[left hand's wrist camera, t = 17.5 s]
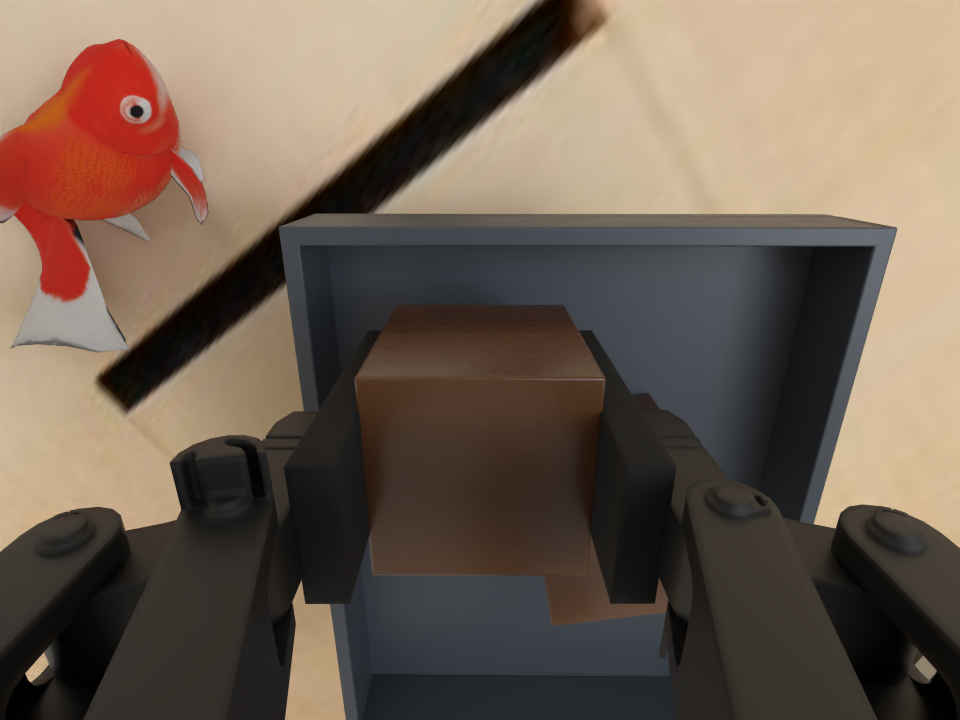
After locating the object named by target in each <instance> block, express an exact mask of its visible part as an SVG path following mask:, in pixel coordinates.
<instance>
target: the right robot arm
mask: <svg viewBox="0 0 960 720" xmlns="http://www.w3.org/2000/svg"><path fill="white" fill-rule="evenodd" d="M912 663H913V664H914V665H915V666H916V667H917V669H918V670H919V671H920V672H921V673H922V674H923V675H924V676H925V677H926V678H927V679H929V680H930V681H931V680H932V679H933V678H934V676H935V673H936V671H937V670H936V669H935V668H934V667H933V666H932V665H931V664H930V663H929V662H928V660H927V659H926V658H925V657H924V656H923V655H922V654H921V653H920V651H919V650H917V652H916V654H915V657H914V659H913V662H912Z"/></svg>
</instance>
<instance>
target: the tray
mask: <svg viewBox="0 0 960 720" xmlns="http://www.w3.org/2000/svg"><path fill="white" fill-rule="evenodd" d="M279 232H280V240H281V246H282V254H283V261H284V268H285V276H286V283H287V290H288V298H289V305H290V312H291V320H292V327H293V334H294V342H295V349H296V357H297V364H298V371H299V379H300V386H301V393H302V401H303V408H304V412H318V411H319V409H320V408H321V406H322V405H323V403H324V401H325V400H326V398H327V396H328V395H329V393H330V392H331V390H332V388H333V387H334V385H335V384H336V382H337V380H338V379H339V377H340V375H341V374H342V372H343V371H344V369H345V367H346V366H347V364H348V363H349V361H350V359H351V358H352V356H353V355H354V353H355V351H356V350H357V348H358V346H359V345H360V343H361V342H362V340H363V338H364V337H365V335H366V334H367V332H368V330H382V329H383V327H384V326H385V324H386V322H387V320H388V319H389V317H390V315H391V313H392V312H393V310H394V308H395V306H396V305H564V306H565V307H566V309H567V311H568V312H569V314H570V316H571V318H572V320H573V321H574V323H575V325H576V327H577V328H578V330H592V331H593V333H594V334H595V336H596V338H597V339H598V341H599V342H600V344H601V346H602V347H603V349H604V351H605V352H606V354H607V355H608V357H609V359H610V360H611V362H612V363H613V365H614V367H615V368H616V370H617V372H618V373H619V375H620V376H621V378H622V380H623V381H624V383H625V384H626V386H627V388H628V389H629V391H630V393H631V394H632V396H634V395H641V394H647V393H649V394H650V395H651V396H652V398H653V399H654V401H655V402H656V404H657V405H658V406H659V408H660V409H661V410H668V411H670V412H671V413H673V414H674V415H676V416H677V417H679V418H681V419H682V420H684V421H685V422H686V423H687V425H688V426H689V427H690V428H691V430H692V431H693V432H694V434H695V437H697V438H698V439H699V440H700V442H701V443H702V444H703V448H706V450H707V451H708V452H709V454H710V455H711V456H712V458H713V459H714V460H715V462H716V463H717V464H718V466H719V467H720V468H721V470H722V471H723V472H724V474H725V475H726V476H727V477H728V479H729V480H731V481H735V482H740V483H743V484H745V485H747V486H750V487H752V488H755V489H757V490H758V491H760V492H761V493H763V494H764V495H766V496H767V497H769V498H770V499H771V500H772V501H773V503H774V504H775V505H776V506H777V508H778V509H779V511H780V513H781V515H782V517H783V518H787V519H791V520H795V521H799V522H804V523H809V524H814V521H815V517H816V514H817V510H818V506H819V503H820V499H821V496H822V492H823V489H824V485H825V482H826V478H827V475H828V471H829V468H830V464H831V461H832V457H833V454H834V450H835V447H836V443H837V440H838V436H839V432H840V429H841V425H842V422H843V418H844V415H845V411H846V408H847V404H848V401H849V397H850V394H851V390H852V387H853V383H854V380H855V376H856V373H857V369H858V366H859V362H860V358H861V355H862V351H863V348H864V344H865V341H866V337H867V334H868V330H869V327H870V323H871V320H872V316H873V313H874V309H875V306H876V302H877V299H878V295H879V292H880V288H881V285H882V281H883V277H884V274H885V270H886V267H887V263H888V260H889V256H890V253H891V249H892V246H893V243H894V239H895V236H896V232H897V228H896V227H891V226H886V225H880V224H875V223H869V222H864V221H859V220H853V219H848V218H842V217H835V216H831V215H825V214H314V215H311V216H308V217H305V218H302V219H300V220H297V221H294V222H291V223H289V224H286V225H283V226H281V227H279ZM330 606H331V614H332V621H333V628H334V636H335V643H336V650H337V658H338V665H339V672H340V680H341V687H342V694H343V702H344V709H345V716H346V720H675V712H674V704H673V695H672V686H671V677H670V669H669V660H668V651H667V654H666V659H662V658H659V651H660V645H661V639H662V633H663V627H664V621H665V616H666V613H658V614H649V615H641V616H632V617H624V618H615V619H607V620H598V621H590V622H581V623H573V624H564V625H556V626H552V624H551V620H550V613H549V607H548V601H547V595H546V588H545V582H544V576H543V575H373V573H372V565H371V555H370V544H369V539H368V542H367V546H366V549H365V553H364V556H363V560H362V563H361V567H360V570H359V574H358V577H357V581H356V584H355V588H354V591H353V595H352V598H351V602H350V604H330Z"/></svg>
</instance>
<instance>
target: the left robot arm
mask: <svg viewBox="0 0 960 720" xmlns="http://www.w3.org/2000/svg"><path fill="white" fill-rule="evenodd" d="M381 331H382V330H368V332H367V334H366V335H365V337H364V338H363V340H362V342H361V343H360V345H359V346H358V348H357V350H356V351H355V353H354V355H353V356H352V358H351V359H350V361H349V363H348V364H347V366H346V367H345V369H344V371H343V372H342V374H341V375H340V377H339V379H338V380H337V382H336V384H335V385H334V387H333V388H332V390H331V392H330V393H329V395H328V396H327V398H326V400H325V401H324V403H323V405H322V406H321V408H320V409H319V411H318V412H292V413H291V414H289V415H288V416H286V417H284V418H283V419H281V420H280V421H278V422H276V423H275V425H274V426H273V427H272V429H271V430H270V431H269V433H268V434H267V435H266V439H263V441H260V440H259V439H258V438H255V437H250V436H246V435H228V436H222V437H217V438H212V439H208V440H205V441H203V442H200V443H197V444H194V445H192V446H190V447H189V448H187V449H185V450H183V451H182V452H180V453H178V454H177V456H176V457H175V458H174V459H173V460H172V461H171V462H170V466H171V470H172V474H173V478H174V482H175V486H176V490H177V494H178V498H179V502H180V506H181V512H180V514H179V516H178V518H177V520H175V521H171V522H167V523H163V524H158V525H153V526H148V527H143V528H138V529H133V530H128V531H125V528H124V525H123V521H122V518H121V515H120V514H118V513H117V512H116V511H114V510H113V509H109V508H102V507H93V508H83V509H76V510H71V511H70V512H64V513H61V514H58V515H55V516H54V517H52V518H50V519H48V520H46V521H44V522H41V523H39V524H37V525H36V526H34V527H33V528H31V529H30V530H28V531H27V532H25V533H24V534H22V535H21V536H19V537H18V538H17V539H16V540H14V541H13V542H12V543H11V544H9V545H8V546H7V547H6V548H5V549H3V550H2V551H1V552H0V720H285V714H286V705H287V696H288V687H289V679H290V670H291V661H292V652H293V644H294V635H295V626H296V623H295V616H294V610H293V604H292V601H293V599H294V596H295V594H296V592H297V589H298V587H299V584H300V582H301V580H302V585H303V591H304V597H305V604H350V602H351V598H352V595H353V591H354V588H355V584H356V581H357V577H358V574H359V570H360V567H361V563H362V560H363V556H364V553H365V549H366V546H367V542H368V539H369V535H370V524H369V513H368V502H367V491H366V480H365V469H364V458H363V447H362V436H361V425H360V414H359V411H357V403H356V392H355V381H354V379H355V376H356V374H357V373H358V371H359V369H360V367H361V366H362V364H363V362H364V360H365V359H366V357H367V355H368V354H369V352H370V350H371V348H372V347H373V345H374V343H375V341H376V340H377V338H378V336H379V334H380V333H381ZM579 332H580V334H581V336H582V337H583V339H584V341H585V343H586V344H587V346H588V348H589V350H590V352H591V353H592V355H593V357H594V359H595V360H596V362H597V364H598V366H599V368H600V369H601V371H602V373H603V375H604V376H605V379H606V381H605V392H604V403H603V411H602V412H601V420H600V431H599V442H598V453H597V463H596V474H595V485H594V496H593V507H592V518H591V529H590V534H591V538H592V541H593V545H594V548H595V551H596V555H597V558H598V562H599V565H600V569H601V572H602V576H603V579H604V583H605V586H606V590H607V593H608V597H609V600H610V604H655V600H656V594H657V587H658V581H659V578H660V581H661V583H662V585H663V588H664V590H665V593H666V595H667V597H668V604H667V610H666V616H665V621H664V627H663V633H662V639H661V645H660V651H659V658H662V659H666V654H667V651H668V660H669V669H670V677H671V686H672V695H673V704H674V712H675V720H960V548H959V547H958V546H956V545H955V544H954V543H953V542H951V541H950V540H949V539H948V538H947V537H945V536H944V535H943V534H942V533H940V532H939V531H937V530H936V529H934V528H933V527H931V526H930V525H928V524H926V523H925V522H923V521H921V520H919V519H917V518H914V517H912V516H910V515H908V514H907V513H905V512H902V511H899V510H896V509H894V510H892V509H891V508H888V507H883V506H872V505H857V506H850V507H848V508H846V509H845V510H844V511H842V512H841V513H840V517H839V520H838V523H837V526H836V529H835V528H830V527H825V526H819V525H814V524H809V523H804V522H799V521H795V520H791V519H787V518H783V517H782V515H781V513H780V511H779V509H778V508H777V506H776V505H775V504H774V503H773V501H772V500H771V499H770V498H769V497H767V496H766V495H764V494H763V493H761V492H760V491H758V490H757V489H755V488H752V487H750V486H747V485H745V484H743V483H740V482H735V481H731V480H729V479H728V477H727V476H726V475H725V474H724V472H723V471H722V470H721V468H720V467H719V466H718V464H717V463H716V462H715V460H714V459H713V458H712V456H711V455H710V454H709V452H708V451H707V450H706V448H703V444H702V443H701V442H700V440H699V439H698V438H697V437H695V434H694V432H693V431H692V430H691V428H690V427H689V426H688V425H687V423H686V422H685V421H684V420H682V419H681V418H679V417H677V416H676V415H674V414H673V413H671V412H670V411H668V410H641V409H640V407H639V405H638V404H637V402H636V401H635V399H634V397H633V396H632V394H631V393H630V391H629V389H628V388H627V386H626V384H625V383H624V381H623V380H622V378H621V376H620V375H619V373H618V372H617V370H616V368H615V367H614V365H613V363H612V362H611V360H610V359H609V357H608V355H607V354H606V352H605V351H604V349H603V347H602V346H601V344H600V342H599V341H598V339H597V338H596V336H595V334H594V333H593V331H592V330H579ZM917 650H919V651H920V653H921V654H922V655H923V656H924V657H925V658H926V659H927V660H928V662H929V663H930V664H931V665H932V666H933V667H934V668H935V669H936V670H937V671H936V673H935V676H934V678H933V679H932V680H931V681H930V680H929V679H927V678H926V677H925V676H924V675H923V674H922V673H921V672H920V671H919V670H918V669H917V667H916V666H915V665H914V664H913V663H912V662H913V659H914V657H915V654H916V652H917ZM43 653H45V655H46V658H47V660H48V663H49V665H48V666H47V667H46V669H45V670H44V671H43V672H42V673H41V675H39V676H38V677H37V678H36V679H35V680H33V681H32V682H29V681H28V679H27V677H26V674H25V673H26V672H27V671H28V669H29V668H30V667H31V666H32V665H33V664H34V663H35V662H36V660H37V659H38V658H39V657H40V656H41V655H42V654H43Z"/></svg>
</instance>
